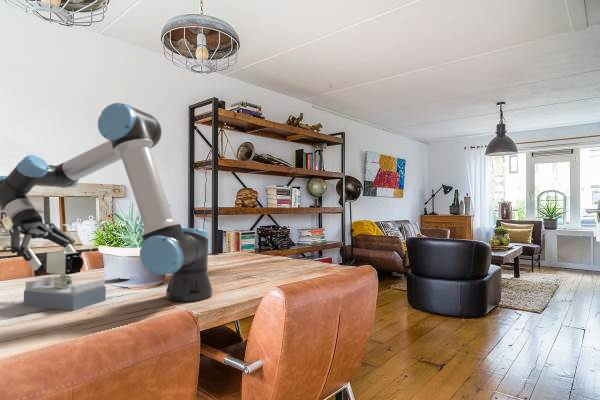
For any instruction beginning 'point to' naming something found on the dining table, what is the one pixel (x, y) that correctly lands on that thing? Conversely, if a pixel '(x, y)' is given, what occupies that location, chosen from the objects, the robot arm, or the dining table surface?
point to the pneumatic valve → (62, 266)
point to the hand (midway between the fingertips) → (58, 264)
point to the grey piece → (64, 294)
